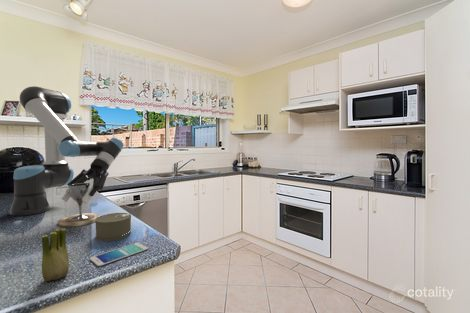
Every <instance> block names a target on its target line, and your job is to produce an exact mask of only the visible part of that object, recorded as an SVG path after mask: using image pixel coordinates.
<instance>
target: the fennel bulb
mask: <svg viewBox="0 0 470 313" xmlns="http://www.w3.org/2000/svg"><path fill="white" fill-rule="evenodd" d="M41 245H42V255H41V256H42V257H41V274H42V278H43V280H44V281H45V282H51V281H57V280H60V279H62V278H64V277H65V276H67V275H68V273H69V263H70V262H69V261H70V260H69V252H68V248H67V229H66V228H60V229H59V228H58V229H55V230H54V231H52V232H50V236H49V235H47V234H44V235H42V236H41Z"/></svg>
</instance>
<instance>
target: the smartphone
mask: <svg viewBox="0 0 470 313" xmlns="http://www.w3.org/2000/svg"><path fill="white" fill-rule="evenodd" d="M148 250H149V247H147V246H146V245H144V244H141V243H140V242H135V243H131V244H129V245H126V246H121V247H119V248H116V249H113V250H109V251H107V252H103V253H100V254H97V255H94V256H91V257H90V258H89V262H91V263H92V264H94V265H95V266H96V267H97V268H101V267H104V266H108V265H110V264H113V263H116V262H118V261H121V260H123V259H127V258H129V257H131V256H135V255H138V254H141V253H143V252H146V251H148Z"/></svg>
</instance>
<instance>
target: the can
mask: <svg viewBox="0 0 470 313" xmlns="http://www.w3.org/2000/svg"><path fill="white" fill-rule="evenodd" d="M131 220H132V214H131V213H128V212H115V213H113V212H112V213H107V214H103V215H101V216H100V217H97V218H96V219H95V222H94V223H95V239H96V240H97V241H100V242H113V241H118V240H122V239H125V238H127V237H128V236H130V235H131V234H132V232H131V231H130V230H132V227H131V226H132V223H131V222H132V221H131ZM129 231H130V232H129ZM128 232H129V233H128ZM126 233H127V234H126ZM124 234H125V235H124ZM122 235H123V236H122Z"/></svg>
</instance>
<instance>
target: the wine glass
mask: <svg viewBox="0 0 470 313" xmlns="http://www.w3.org/2000/svg"><path fill="white" fill-rule="evenodd" d="M68 188H69V193H70V196H71V197H70V198H71V199H72V200H73V201H74V202H75V203H76V204H77V205H78V210H79V213H78V214H79V215H78V216H75V217H72V218H71V219H72V220H81V219H86V218H89V217H90V216H89V215H82V214H83V213H82V208H83V204H84V202H83V201H82V199H83V198H84V196H85V195H86V193H87V192H88V191H89V189H90V188H91V183H90V182H84V183H76V184H70V185H69V186H68Z"/></svg>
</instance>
